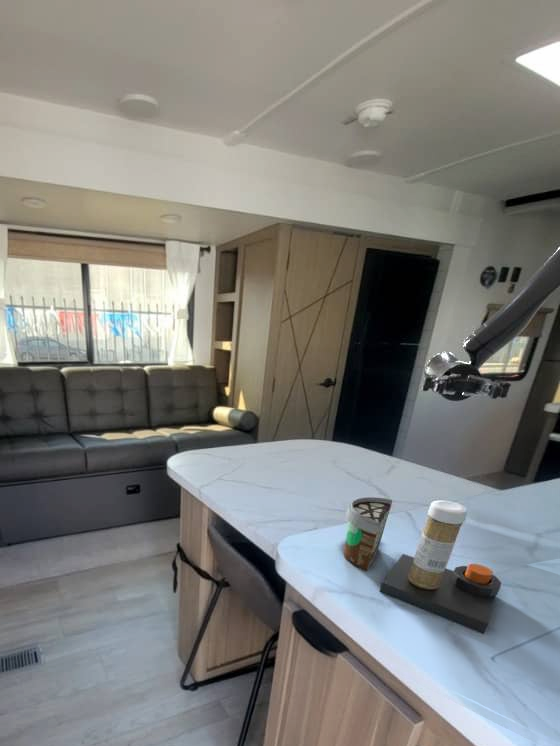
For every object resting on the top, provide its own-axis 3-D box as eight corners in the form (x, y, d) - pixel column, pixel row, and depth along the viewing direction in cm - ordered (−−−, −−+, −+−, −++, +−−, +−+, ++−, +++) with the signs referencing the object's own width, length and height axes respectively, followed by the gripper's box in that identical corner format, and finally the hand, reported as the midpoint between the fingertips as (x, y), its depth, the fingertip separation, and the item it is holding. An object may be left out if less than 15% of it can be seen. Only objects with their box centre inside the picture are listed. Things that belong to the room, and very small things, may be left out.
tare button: (489, 578, 64) (494, 569, 63) (487, 587, 61) (491, 577, 61) (466, 570, 65) (469, 561, 65) (462, 578, 63) (466, 569, 62)
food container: (346, 536, 81) (357, 490, 77) (379, 546, 78) (393, 499, 74) (328, 563, 72) (339, 512, 68) (364, 575, 69) (379, 523, 64)
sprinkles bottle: (438, 579, 65) (467, 503, 59) (439, 594, 61) (470, 515, 56) (406, 571, 67) (431, 496, 61) (405, 585, 63) (432, 507, 58)
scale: (494, 594, 65) (503, 576, 64) (484, 634, 56) (493, 615, 55) (400, 561, 73) (406, 544, 72) (379, 592, 65) (384, 574, 63)
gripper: (424, 360, 89) (431, 366, 76) (502, 364, 84) (524, 372, 70) (414, 394, 92) (419, 406, 79) (489, 401, 87) (507, 415, 74)
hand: (468, 390), depth 75 cm, fingers open, 8 cm apart
